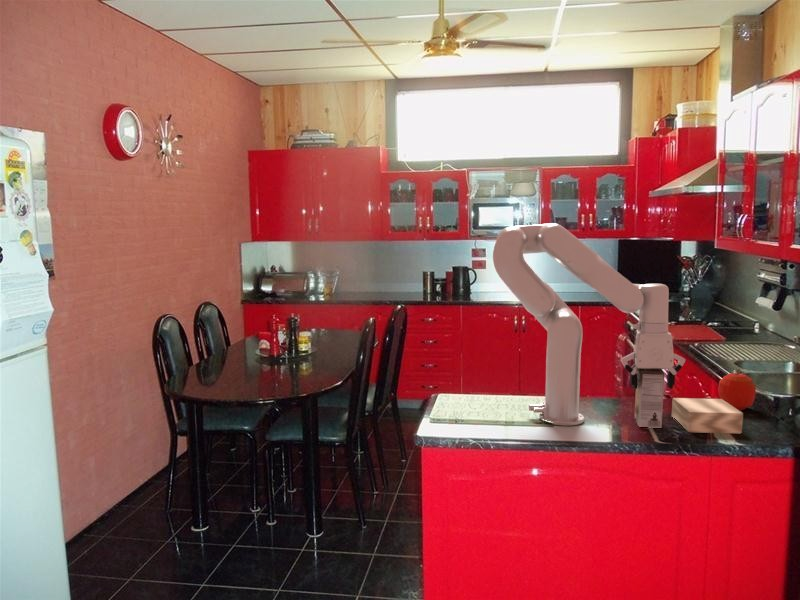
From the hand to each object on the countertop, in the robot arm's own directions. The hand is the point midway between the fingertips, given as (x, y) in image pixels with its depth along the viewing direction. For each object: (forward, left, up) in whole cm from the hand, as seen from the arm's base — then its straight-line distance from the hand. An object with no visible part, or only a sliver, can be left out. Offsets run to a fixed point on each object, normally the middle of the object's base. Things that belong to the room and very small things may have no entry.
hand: (652, 387), depth 184 cm
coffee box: (-1, 0, -11) cm, 11 cm away
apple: (+30, +19, -11) cm, 37 cm away
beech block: (+15, +1, -11) cm, 19 cm away
